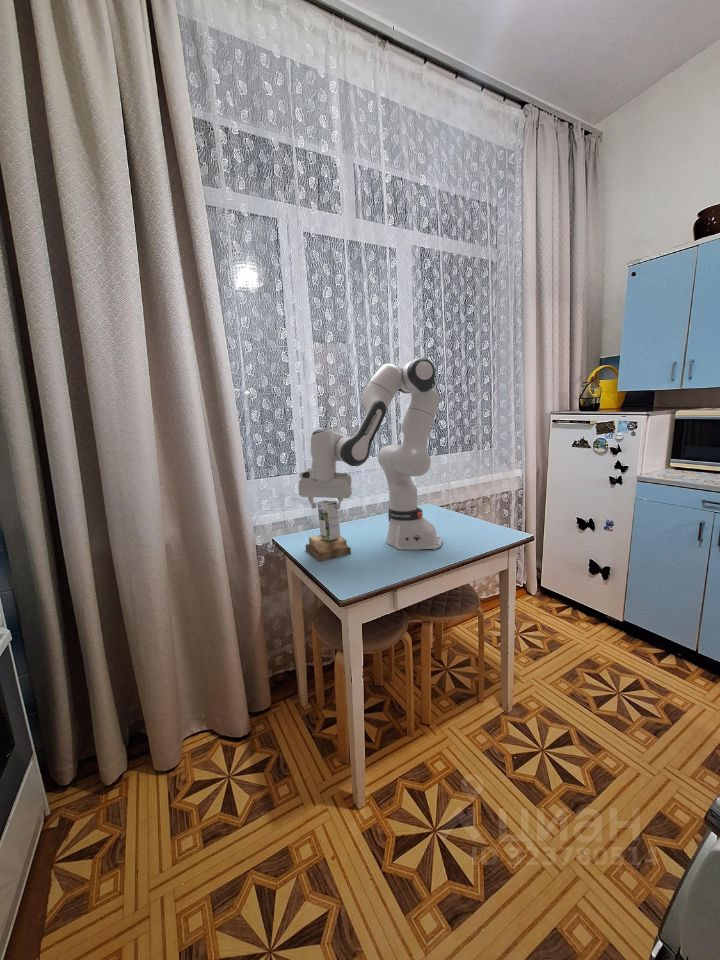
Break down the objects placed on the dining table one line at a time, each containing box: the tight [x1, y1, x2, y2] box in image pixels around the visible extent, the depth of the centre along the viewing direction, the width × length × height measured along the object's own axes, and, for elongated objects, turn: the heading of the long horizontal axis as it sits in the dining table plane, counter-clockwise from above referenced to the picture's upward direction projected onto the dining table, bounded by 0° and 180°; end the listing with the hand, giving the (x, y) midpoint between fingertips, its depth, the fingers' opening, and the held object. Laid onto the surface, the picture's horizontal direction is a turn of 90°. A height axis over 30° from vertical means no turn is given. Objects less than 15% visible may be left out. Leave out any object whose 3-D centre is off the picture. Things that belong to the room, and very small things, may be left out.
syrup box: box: [316, 499, 341, 541], centre depth 149 cm, size 6×6×14 cm
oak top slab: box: [308, 534, 348, 554], centre depth 151 cm, size 11×11×3 cm
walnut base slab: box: [305, 543, 352, 562], centre depth 151 cm, size 13×13×3 cm
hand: (326, 508), depth 148 cm, fingers open, 8 cm apart
